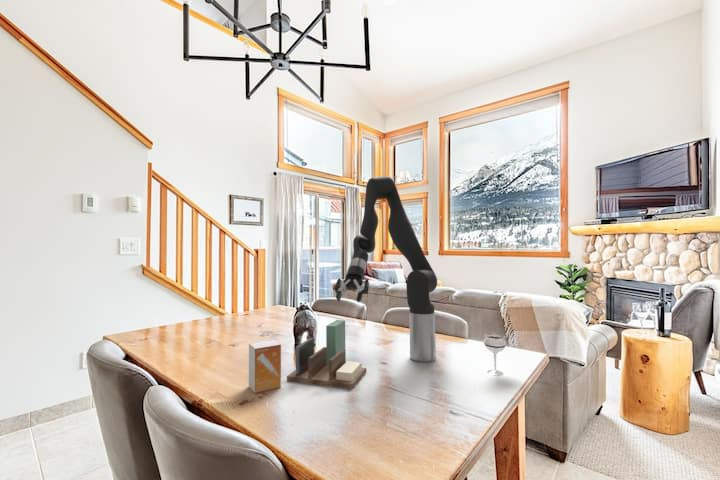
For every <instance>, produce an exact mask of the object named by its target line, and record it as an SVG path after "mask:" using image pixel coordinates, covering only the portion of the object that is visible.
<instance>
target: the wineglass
mask: <svg viewBox="0 0 720 480" xmlns="http://www.w3.org/2000/svg"><path fill="white" fill-rule="evenodd" d="M483 336H484V340H483V344H484V346H485V347H486V349H487V350H488V351H490V352H492V353H493V361H494V366H493V367H494V369H489V370H487V372H486V373H488V374H489V375H493V376H503V375H504V372H502V371H500V370H497V354H498V353H500V352H502V351H503V350H504V349H505V348H506V347H507V346H506V345H507V341H506V340H505V339H506V336H505V335H504V334H499V333H485V334H484V335H483Z"/></svg>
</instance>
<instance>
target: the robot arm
mask: <svg viewBox="0 0 720 480" xmlns="http://www.w3.org/2000/svg"><path fill="white" fill-rule="evenodd" d="M384 199H386V201H387V203H388V207H389V218H388V221H387V222H388V223H387V231H388V233H389V235H390V238H391V240H392V242H393V244H394V246H395V247H396V248H397V249H398V251H399V252H400V253H401V255H403V257H404V258H405V259H406V260H407V262H408V263H409V266H410V268H411V270H412V271H411V272H410V273H408V276H407V277H406V285H405V286H406V287H405V288H406V301H407V305H408V309H409V358H410V359H411V360H413V361H416V362H421V363H422V362H423V363H426V362H435V360H436V354H437V353H436V352H437V349H436V330H435V329H436V328H435V305H434V304H433V303H431V302H432V301H431V300H430V293H432V292H434V291H435V290H436V289H437V287H438V286H437V285H438V279H437V275H436V273H435V271H434V269H433V267H432V266H431V263H430V262H429V261H428V259H427V257H426V256H425V253H424V251H423V249H422V247H421V244H420V242H419V240H418V237H417V235H416V233H415V230H414V228H413V225H412V223H411V221H410V220H409V217H408V215H407V213H406V211H405V209H404V206H403V203H402V199H401V197H400V194H399V191H398V187H397V186H396V183H395V181H394V179H393V178H392V177H391V176H388V175H384V176H374V177H371V178H369V179H368V181H367V182H366V187H365V198H364V212H363V218H362V222H361V226H360V229H359V230H360V231H359V233H360V235H356V236H355V237H354V238H353V244H352V246H353V254H352V256H351V257H352V258H351V260H350V262H349V266H348V268H347V272H346V275H345V278H344V279H341V278H338V279H337V280H336V282H335V283H336V284H335V285H334V287H333V289H334V292H335V293H336V295H335V298H336V301H337V302H341V299H342V296H343V293H346V292H347V291H356V290H357V292H358V293H357V296H356V301H357V303H360V302H361V301H362V298H363V295H367V294H369V288H370V282H369V279H365V280H364V277H365V274H366V271H367V270H366V269H367V263H368V260H369V254H371V253H372V252H373V253H374V251H375V249H376V232H377V228H378V225H379V216H378V214H377V210H376V208H375V206H376V203H377V200H378V201H379V200H384ZM362 285H364V287H363V289H362Z"/></svg>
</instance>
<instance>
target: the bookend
mask: <svg viewBox="0 0 720 480" xmlns="http://www.w3.org/2000/svg"><path fill="white" fill-rule="evenodd" d="M313 354H315V338H314V337H310V338H309V339H307V340H305V341H303V342H301V343H300V344H298V345H297V346H295V370H296V375H298V376H299V375H301V374H302V373H303V372H305V371H306V370H307V369H308V358H309V357H310V356H312V355H313Z"/></svg>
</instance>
